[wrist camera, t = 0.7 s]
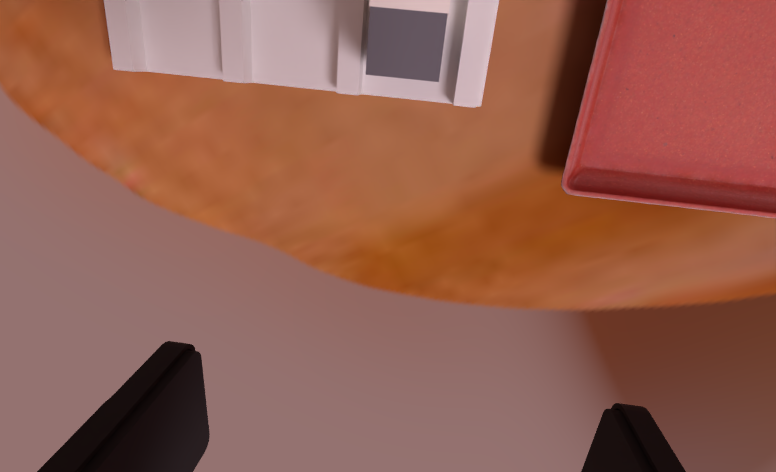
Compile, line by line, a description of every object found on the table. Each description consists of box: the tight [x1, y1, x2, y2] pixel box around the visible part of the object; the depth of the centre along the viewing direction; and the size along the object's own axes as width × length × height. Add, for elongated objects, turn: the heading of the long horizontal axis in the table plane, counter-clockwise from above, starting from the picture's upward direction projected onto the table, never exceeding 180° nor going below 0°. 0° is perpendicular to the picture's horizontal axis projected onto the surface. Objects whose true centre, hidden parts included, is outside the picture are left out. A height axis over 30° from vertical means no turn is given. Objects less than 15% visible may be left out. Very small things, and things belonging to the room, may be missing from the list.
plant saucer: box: [561, 0, 776, 218], centre depth 27 cm, size 18×18×3 cm
